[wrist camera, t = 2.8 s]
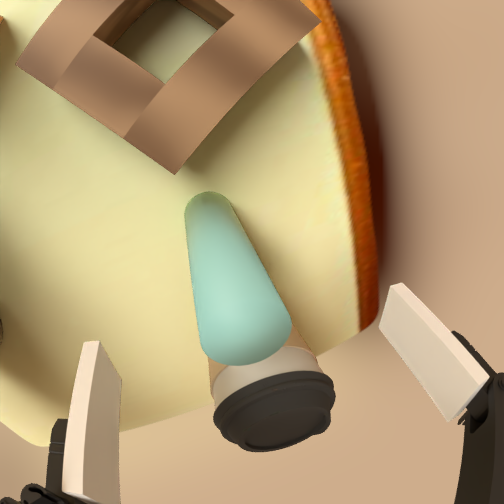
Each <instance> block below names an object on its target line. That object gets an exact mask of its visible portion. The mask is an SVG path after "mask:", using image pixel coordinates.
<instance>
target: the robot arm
mask: <svg viewBox="0 0 504 504" xmlns="http://www.w3.org/2000/svg"><path fill="white" fill-rule="evenodd" d="M378 328H379V329H380V330H381V332H382V333H383V334H384V336H385V337H386V338H387V339H388V341H389V342H390V343H391V345H392V346H393V347H394V349H395V350H396V351H397V353H398V354H399V355H400V356H401V358H402V359H403V361H404V362H405V363H406V364H407V366H408V367H409V368H410V370H411V371H412V373H413V374H414V375H415V377H416V378H417V380H418V381H419V382H420V384H421V385H422V386H423V388H424V389H425V391H426V392H427V393H428V395H429V396H430V398H431V399H432V400H433V402H434V403H435V405H436V406H437V407H438V409H439V410H440V412H441V413H442V415H443V416H444V417H445V419H446V421H447V422H449V421H451V420H452V419H454V418H455V417H456V416H458V415H459V414H460V413H461V412H462V411H463V410H464V408H465V407H466V408H467V411H466V413H464V415H463V416H462V417H461V418H460V419H459V421H458V425H459V424H461V423H462V422H463V421H464V420H465V421H464V423H463V424H462V425H465V432H464V445H463V455H462V463H461V469H460V476H459V482H458V488H457V493H456V497H455V502H454V504H504V373H498V374H497V373H496V372H495V371H494V370H493V369H492V368H491V367H490V366H489V365H488V364H487V362H486V361H485V360H484V359H483V358H482V357H481V355H480V354H479V353H478V352H477V351H475V349H474V348H473V346H472V345H470V343H469V342H468V341H467V340H466V339H465V338H464V337H463V336H462V335H460V334H459V333H457V332H456V331H452V332H450V331H449V330H448V329H447V328H446V327H445V326H444V324H443V323H442V322H441V321H440V320H439V319H438V318H437V317H436V316H435V315H434V314H433V313H432V312H431V311H430V310H429V309H428V308H427V307H426V306H425V305H424V304H423V303H422V302H421V301H420V300H419V299H418V298H417V297H416V296H415V295H414V294H413V293H412V292H411V291H410V290H409V289H408V288H407V287H406V286H405V285H404V284H403V283H399V284H395V285H392V286H390V289H389V293H388V296H387V300H386V304H385V307H384V311H383V314H382V318H381V321H380V324H379V327H378ZM2 336H3V331H2V324H1V320H0V344H1V341H2ZM121 385H122V380H121V378H120V376H119V375H118V373H117V371H116V369H115V368H114V366H113V364H112V362H111V361H110V359H109V357H108V355H107V353H106V352H105V350H104V348H103V346H102V344H101V342H100V340H99V341H88V342H84V344H83V348H82V352H81V356H80V360H79V365H78V369H77V374H76V379H75V384H74V389H73V394H72V399H71V405H70V411H69V418H68V419H57V421H56V423H55V425H54V427H53V428H52V433H51V439H50V442H51V444H50V447H49V452H50V453H49V456H48V465H47V476H46V488H43V487H42V486H40V485H38V484H33V483H31V484H28V485H26V486H25V487H24V488H23V489H22V492H21V501H19V502H18V501H16V500H14V499H12V498H10V497H4V498H3V499H1V500H0V504H121V501H120V484H119V418H120V399H121Z"/></svg>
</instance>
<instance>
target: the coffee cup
mask: <svg viewBox="0 0 504 504" xmlns="http://www.w3.org/2000/svg"><path fill="white" fill-rule="evenodd" d="M208 362H209V376H210V388H211V395H212V397H213V399H214V402H215V412H214V416H213V420H214V423H215V425H216V426H217V428H218V429H219V430H220V431H221V434H222V436H223V437H224V438H225V439H227V440H228V441H230V442H232V443H235V444H238V445H239V446H240V447H241V448H242V449H244V450H246V451H251V452H268V451H275V450H279V449H283V448H286V447H289V446H292V445H294V444H297V443H299V442H301V441H303V440H305V439H307V438H309V437H310V436H312V435H317V434H321V433H323V432H324V431H325V430H326V429H327V428H328V427H329V425H330V422H331V417H330V410H331V409H332V407H333V404H334V402H335V397H336V396H335V391H334V385H333V381H332V380H331V378H330V377H328V376H327V375H325V374H324V373H323V371H322V370H321V368H320V367H319V365H318V363H317V359H316V357H315V356H314V354H313V353H312V351H311V350H310V348H309V347H308V345H307V344H306V343H305V341H304V340H303V338H302V337H301V335H300V334H299V332H298V331H297V329H296V328H295V326H294V325H293V323H292V328H291V333H290V335H289V338H288V339H287V341H286V343H285V344H284V345H283V346H282V347H281V348H280V349H279V350H278V351H277V352H276V353H274V354H273V355H271V356H270V357H268V358H266V359H264V360H262V361H260V362H257V363H253V364H249V365H243V366H230V365H224V364H221V363H218V362H216V361H214V360H212V359H211V358H209V357H208Z"/></svg>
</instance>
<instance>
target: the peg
mask: <svg viewBox="0 0 504 504" xmlns="http://www.w3.org/2000/svg"><path fill="white" fill-rule="evenodd" d="M185 226H186V237H187V246H188V255H189V264H190V272H191V280H192V288H193V295H194V303H195V310H196V317H197V323H198V330H199V336H200V342H201V346H202V349H203V351H204V352H205V354H206V355H207V356H208V357H209V358H211V359H212V360H214V361H216V362H218V363H221V364H224V365H230V366H243V365H249V364H253V363H257V362H260V361H262V360H264V359H266V358H268V357H270V356H271V355H273V354H274V353H276V352H277V351H278V350H279V349H280V348H281V347H282V346H283V345H284V344H285V343H286V341H287V339H288V338H289V335H290V333H291V328H292V321H291V317H290V315H289V313H288V311H287V309H286V307H285V305H284V303H283V302H282V300H281V298H280V296H279V294H278V292H277V290H276V288H275V287H274V285H273V283H272V281H271V279H270V277H269V275H268V274H267V272H266V270H265V268H264V266H263V264H262V262H261V260H260V259H259V257H258V255H257V253H256V251H255V249H254V247H253V245H252V244H251V242H250V240H249V238H248V236H247V234H246V232H245V231H244V229H243V227H242V225H241V223H240V221H239V219H238V218H237V216H236V214H235V212H234V210H233V208H232V206H231V205H230V203H229V201H228V200H227V199H226V198H225V197H224V196H222V195H221V194H219V193H215V192H204V193H201V194H198V195H196V196H195V197H194V198H192V199H191V200H190V202H189V203H188V205H187V206H186V209H185Z"/></svg>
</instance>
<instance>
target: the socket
mask: <svg viewBox="0 0 504 504" xmlns="http://www.w3.org/2000/svg"><path fill="white" fill-rule="evenodd" d="M155 1H156V0H62V1H61V2H60V3H59V5H58V6H57V7H56V8H55V9H54V10H53V12H52V13H51V14H50V15H49V17H48V18H47V19H46V20H45V22H44V23H43V24H42V26H41V27H40V28H39V30H38V31H37V32H36V34H35V35H34V37H33V38H32V39H31V41H30V42H29V44H28V45H27V47H26V48H25V50H24V51H23V53H22V54H21V56H20V57H19V59H18V61H17V62H16V64H15V65H16V66H18V67H19V68H21V69H22V70H24V71H25V72H27V73H28V74H30V75H31V76H33V77H34V78H36V79H37V80H39V81H40V82H42V83H43V84H45V85H46V86H48V87H49V88H51V89H52V90H54V91H55V92H57V93H58V94H60V95H61V96H63V97H64V98H65V99H67V100H68V101H70V102H71V103H73V104H74V105H76V106H77V107H79V108H80V109H82V110H83V111H84V112H86V113H87V114H89V115H90V116H92V117H93V118H95V119H96V120H97V121H99V122H100V123H102V124H103V125H105V126H106V127H108V128H109V129H110V130H112V131H113V132H115V133H116V134H118V135H119V136H120V137H122V138H123V139H125V140H126V141H128V142H129V143H130V144H132V145H133V146H135V147H136V148H137V149H139V150H140V151H142V152H143V153H145V154H146V155H147V156H149V157H150V158H152V159H153V160H154V161H156V162H157V163H159V164H160V165H161V166H163V167H164V168H166V169H167V170H168V171H170V172H171V173H173V174H174V175H175V174H176V173H177V172H178V170H179V169H180V168H181V167H182V165H183V164H184V163H185V162H186V160H187V159H188V158H189V157H190V155H191V154H192V153H193V152H194V150H195V149H196V148H197V147H198V146H199V144H200V143H201V142H202V141H203V140H204V139H205V137H206V136H207V135H208V134H209V133H210V131H211V130H212V129H213V128H214V127H215V126H216V125H217V123H218V122H219V121H220V120H221V119H222V118H223V117H224V116H225V114H226V113H227V112H228V111H229V110H230V109H231V108H232V107H233V106H234V105H235V103H236V102H237V101H238V100H239V99H240V98H241V97H242V96H243V95H244V94H245V93H246V92H247V91H248V90H249V89H250V88H251V87H252V86H253V85H254V84H255V83H256V82H257V80H258V79H259V78H260V77H261V76H262V75H263V74H264V73H265V72H267V71H268V70H269V69H270V68H271V67H272V66H273V65H274V64H275V63H276V62H277V61H278V60H279V59H280V58H281V57H282V56H283V55H284V54H285V53H286V52H287V51H289V50H290V49H291V48H292V47H293V46H294V45H295V44H296V43H297V42H298V41H300V40H301V39H302V38H303V37H304V36H305V35H306V34H308V33H309V32H310V31H311V30H312V29H313V28H315V27H316V26H317V25H318V24H319V23H320V22H322V21H321V20H320V19H319V18H318V17H317V16H316V15H315V14H313V13H312V12H311V11H310V10H309V9H308V8H307V7H306V6H305V5H304V4H303V3H302V2H301V1H300V0H176V1H177V2H179V3H180V4H182V5H184V6H185V7H186V8H188V9H189V10H191V11H192V12H194V13H195V14H197V15H198V16H199V17H201V18H202V19H204V20H205V21H206V22H208V23H209V24H211V25H212V26H213V27H215V28H216V29H217V31H216V32H215V33H214V34H213V35H212V36H211V37H210V38H209V39H208V40H207V41H206V42H205V43H204V44H203V45H202V46H201V47H200V48H199V49H198V50H197V51H196V52H195V53H194V54H193V55H192V56H191V57H190V58H189V59H188V60H187V61H186V62H185V63H184V64H183V65H182V66H181V67H180V68H179V69H178V71H177V72H176V73H175V74H174V75H173V76H172V77H171V78H170V80H169V81H168V82H167V83H166V84H164V83H163V82H162V81H160V80H159V79H158V78H156V77H155V76H153V75H152V74H150V73H149V72H148V71H146V70H145V69H143V68H142V67H140V66H139V65H138V64H136V63H135V62H133V61H132V60H130V59H129V58H127V57H126V56H124V55H123V54H121V53H120V52H118V51H117V50H115V49H113V48H112V46H113V45H114V43H115V42H116V41H117V40H118V39H119V38H120V37H121V35H122V34H123V33H124V32H125V31H126V30H127V29H128V28H129V27H130V26H131V25H132V24H133V23H134V21H135V20H136V19H137V18H138V17H139V16H140V15H141V14H142V13H143V12H144V11H145V10H146V9H148V8H149V7H150V6H151V5H152V4H153V3H154V2H155Z"/></svg>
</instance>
